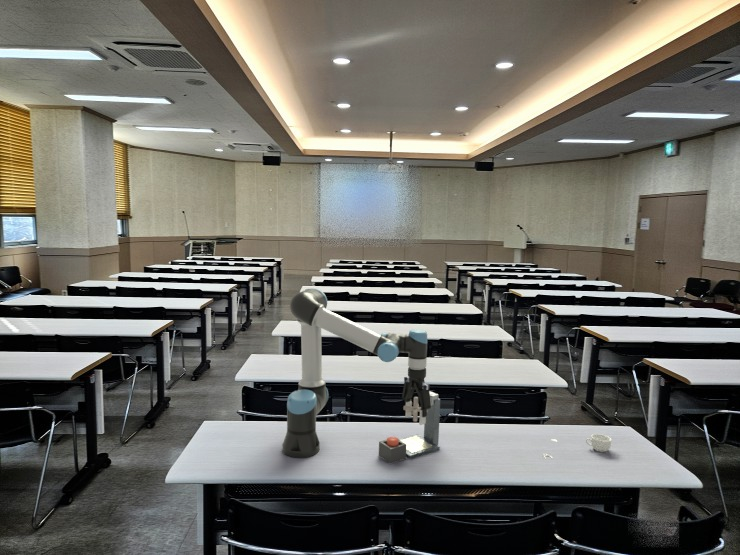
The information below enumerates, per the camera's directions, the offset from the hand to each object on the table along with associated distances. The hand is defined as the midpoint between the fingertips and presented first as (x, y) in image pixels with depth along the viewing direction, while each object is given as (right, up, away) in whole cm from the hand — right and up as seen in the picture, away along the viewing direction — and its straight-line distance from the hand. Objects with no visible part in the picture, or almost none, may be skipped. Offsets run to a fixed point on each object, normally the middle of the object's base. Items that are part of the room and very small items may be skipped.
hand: (415, 420), depth 203 cm
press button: (-10, -8, -8) cm, 15 cm away
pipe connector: (0, 0, 0) cm, 0 cm away
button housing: (-10, -13, -8) cm, 18 cm away
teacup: (+79, -14, +5) cm, 80 cm away
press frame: (+1, -12, +2) cm, 12 cm away
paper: (+57, -14, +1) cm, 59 cm away
